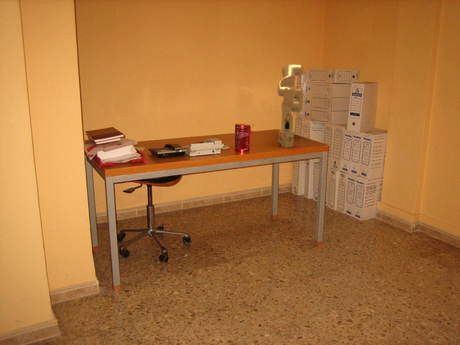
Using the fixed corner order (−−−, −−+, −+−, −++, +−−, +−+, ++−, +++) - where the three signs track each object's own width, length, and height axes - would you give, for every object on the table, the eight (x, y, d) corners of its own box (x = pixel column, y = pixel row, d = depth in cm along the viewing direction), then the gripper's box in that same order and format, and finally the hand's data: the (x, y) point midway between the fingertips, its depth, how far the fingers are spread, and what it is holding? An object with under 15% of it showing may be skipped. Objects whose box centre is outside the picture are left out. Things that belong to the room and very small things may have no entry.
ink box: (277, 146, 337) (278, 130, 334) (285, 144, 342) (286, 129, 339) (286, 147, 331) (286, 132, 327) (293, 146, 336) (294, 131, 333)
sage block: (283, 128, 335) (283, 122, 334) (289, 128, 335) (289, 122, 334) (283, 129, 330) (284, 123, 329) (290, 129, 330) (290, 123, 329)
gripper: (282, 103, 336) (280, 126, 341) (284, 105, 320) (282, 130, 324) (291, 103, 336) (290, 126, 341) (294, 105, 319) (292, 130, 324)
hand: (286, 128), depth 333 cm, fingers closed on sage block, 5 cm apart
